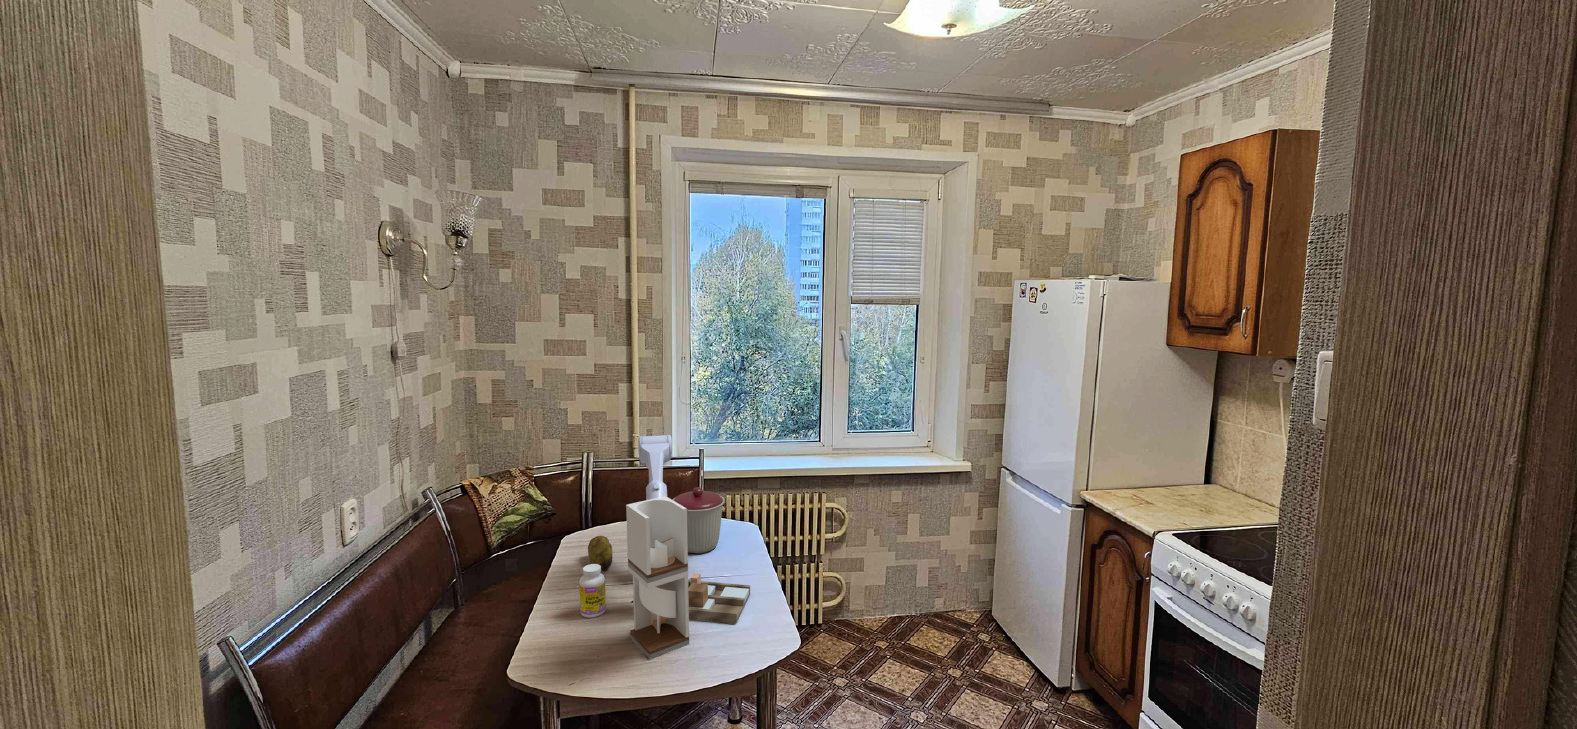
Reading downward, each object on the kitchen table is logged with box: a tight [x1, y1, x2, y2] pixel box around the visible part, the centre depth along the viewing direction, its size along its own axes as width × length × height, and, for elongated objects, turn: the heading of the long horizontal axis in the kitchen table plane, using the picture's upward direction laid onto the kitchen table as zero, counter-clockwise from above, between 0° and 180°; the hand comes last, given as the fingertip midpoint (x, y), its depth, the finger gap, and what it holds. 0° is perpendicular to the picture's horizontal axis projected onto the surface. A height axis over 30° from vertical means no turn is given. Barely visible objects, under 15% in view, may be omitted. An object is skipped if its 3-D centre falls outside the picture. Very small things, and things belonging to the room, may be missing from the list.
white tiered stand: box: [625, 496, 690, 660], centre depth 152 cm, size 11×11×35 cm
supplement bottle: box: [578, 563, 607, 618], centre depth 167 cm, size 7×7×13 cm
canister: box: [672, 486, 726, 554], centre depth 209 cm, size 18×18×21 cm
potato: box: [587, 535, 613, 571], centre depth 197 cm, size 8×13×8 cm, turn 10°
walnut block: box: [688, 583, 708, 608], centre depth 168 cm, size 4×4×4 cm
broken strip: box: [689, 572, 749, 603], centre depth 175 cm, size 16×6×6 cm, turn 80°
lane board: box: [688, 579, 751, 625], centre depth 172 cm, size 22×16×3 cm
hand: (659, 596), depth 170 cm, fingers open, 7 cm apart
